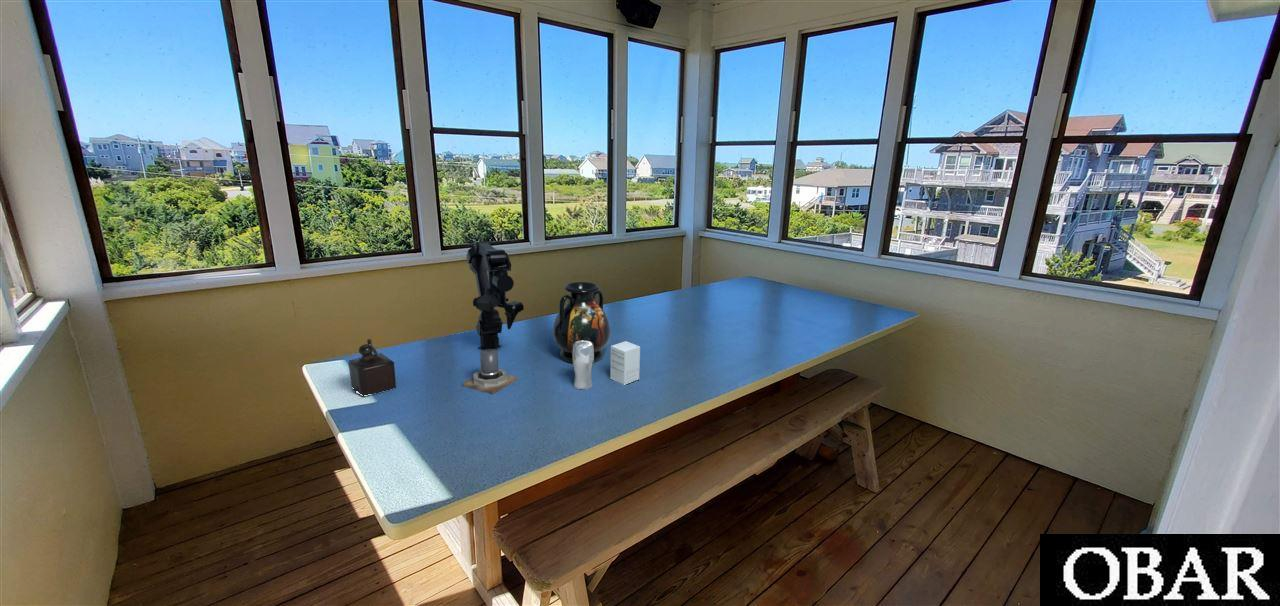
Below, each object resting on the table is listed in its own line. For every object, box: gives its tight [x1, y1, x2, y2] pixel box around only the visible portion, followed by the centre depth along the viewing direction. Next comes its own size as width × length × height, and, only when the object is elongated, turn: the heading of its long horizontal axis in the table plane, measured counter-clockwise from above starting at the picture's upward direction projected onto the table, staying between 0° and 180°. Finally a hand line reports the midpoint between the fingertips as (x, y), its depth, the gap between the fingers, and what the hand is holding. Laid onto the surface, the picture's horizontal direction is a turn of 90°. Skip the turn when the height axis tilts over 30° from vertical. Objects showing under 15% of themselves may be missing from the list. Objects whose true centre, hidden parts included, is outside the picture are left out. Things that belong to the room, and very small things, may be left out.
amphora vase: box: [552, 281, 611, 364], centre depth 192 cm, size 22×22×28 cm
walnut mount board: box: [462, 368, 518, 395], centre depth 170 cm, size 12×12×3 cm
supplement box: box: [609, 340, 641, 386], centre depth 175 cm, size 7×7×13 cm
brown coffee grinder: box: [348, 338, 397, 396], centre depth 160 cm, size 16×11×18 cm
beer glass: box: [572, 340, 594, 390], centre depth 169 cm, size 7×7×15 cm
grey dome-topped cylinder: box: [479, 349, 500, 380], centre depth 169 cm, size 6×6×10 cm
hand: (498, 327), depth 186 cm, fingers open, 9 cm apart
